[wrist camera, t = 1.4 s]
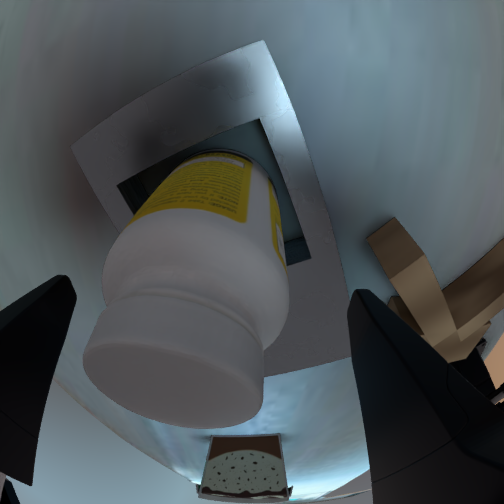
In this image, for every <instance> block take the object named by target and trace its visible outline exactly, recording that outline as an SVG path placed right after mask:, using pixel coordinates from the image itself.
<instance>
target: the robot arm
mask: <svg viewBox="0 0 504 504" xmlns="http://www.w3.org/2000/svg"><path fill="white" fill-rule="evenodd" d="M76 301H77V295H76V292H75V290H74V288H73V285H72V283H71V281H70V279H69V277H68V276H66V275H56V276H55V277H53V278H51V279H50V280H48V281H46V282H45V283H43V284H41V285H40V286H38V287H37V288H35V289H33V290H32V291H30V292H29V293H27V294H26V295H24V296H22V297H21V298H19V299H18V300H16V301H15V302H13V303H12V304H10V305H9V306H7V307H6V308H4V309H3V310H1V311H0V504H20V502H19V500H18V497H17V495H16V493H15V490H14V488H13V485H12V483H11V482H10V481H9V480H8V479H7V478H6V475H8V476H10V477H11V478H13V479H16V480H18V481H20V482H22V483H24V484H27V485H29V486H32V483H33V473H34V464H35V457H36V449H37V444H38V437H39V432H40V427H41V422H42V417H43V413H44V408H45V404H46V400H47V396H48V393H49V389H50V385H51V382H52V378H53V375H54V372H55V369H56V365H57V362H58V359H59V356H60V353H61V350H62V347H63V345H64V342H65V339H66V335H67V332H68V328H69V324H70V321H71V317H72V314H73V311H74V307H75V304H76ZM347 321H348V329H349V338H350V348H351V357H352V364H353V369H354V374H355V379H356V384H357V389H358V395H359V400H360V405H361V411H362V417H363V423H364V429H365V436H366V442H367V449H368V457H369V465H370V472H371V482H372V494H373V504H504V401H503V402H502V403H500V402H498V401H499V400H501V399H502V398H504V383H503V384H502V385H500V387H499V388H498V389H495V386H494V384H493V382H492V380H491V377H490V374H489V372H488V370H487V368H486V366H485V364H484V361H483V359H482V357H481V354H482V352H483V350H484V348H485V346H486V343H487V342H486V340H485V339H483V340H481V341H479V342H478V343H477V345H476V346H475V347H474V349H473V350H472V351H471V353H470V354H469V355H468V356H467V358H466V359H462V360H458V361H454V362H450V363H448V362H447V361H446V360H445V359H444V358H443V357H442V356H441V355H440V354H439V353H438V352H437V351H436V350H435V349H434V348H433V347H432V346H431V345H430V344H429V343H428V342H427V341H425V340H424V339H423V338H422V337H421V336H420V335H419V334H418V333H417V332H416V331H415V330H414V329H412V328H411V327H410V326H409V325H408V324H407V323H406V322H405V321H404V320H403V319H402V318H400V317H399V316H398V315H397V314H396V313H395V312H394V311H393V310H391V309H390V308H389V307H388V306H387V305H386V304H385V303H384V302H382V301H381V300H380V299H379V298H378V297H377V296H376V295H374V294H373V293H372V292H371V291H370V290H368V289H356V290H354V292H353V294H352V297H351V301H350V304H349V307H348V310H347ZM497 402H498V403H497ZM496 403H497V404H496ZM495 404H496V405H495Z"/></svg>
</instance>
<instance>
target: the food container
mask: <svg viewBox="0 0 504 504" xmlns="http://www.w3.org/2000/svg"><path fill="white" fill-rule="evenodd" d="M292 489H293V486H292V487H290V488H288V486H287V479H286V472H285V465H284V458H283V452H282V445H281V438H280V433H276V434H260V435H212V436H211V441H210V445H209V450H208V454H207V459H206V463H205V468H204V472H203V477H202V481H201V485H198V484H196V490H197V493H198V494H199V496H198V497H199V498H202V499H207V500H214V501H222V502H235V503H275V502H285V501H289V497H290V496H291V494H292Z"/></svg>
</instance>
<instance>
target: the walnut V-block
mask: <svg viewBox="0 0 504 504" xmlns="http://www.w3.org/2000/svg"><path fill="white" fill-rule="evenodd" d="M366 239H367V241H368V243H369V245H370V246H371V248H372V250H373V251H374V253H375V255H376V257H377V258H378V260H379V262H380V264H381V266H382V267H383V269H384V271H385V273H386V275H387V277H388V279H389V280H390V282H391V283H392V285H393V286H394V288H395V289H396V291H397V292H398V293H399V295H400V296H399V297H391V299H390V301H389V303H388V307H389V308H390V309H391V310H393V311H394V312H395V313H396V314H397V315H398V316H399V317H400V318H402V319H403V320H404V321H405V322H406V323H407V324H408V325H409V326H410V327H411V328H412V329H414V330H415V331H416V332H417V333H418V334H419V335H420V336H421V337H422V338H423V339H424V340H425V341H427V342H428V343H429V344H430V345H431V346H432V347H433V348H434V349H435V350H436V351H437V352H438V353H439V354H440V355H441V356H442V357H443V358H444V359H445V360H446V361H447V362H448V363H450V362H454V361H458V360H462V359H466V358H467V356H468V355H469V354H470V353H471V351H472V350H473V349H474V347H475V346H476V345H477V343H478V342H479V341H480V339H481V338H482V337H483V335H484V334H485V332H486V331H487V329H488V328H489V327H490V325H491V322H490V321H489V320H490V319H491V318H492V317H494V316H495V315H496V314H497V313H498V312H500V311H501V310H502V309H503V308H504V238H503V239H502V240H501V241H500V242H499V243H498V244H497V245H496V246H495V247H494V248H493V249H492V250H491V251H490V252H488V253H487V254H486V255H485V256H484V257H483V258H482V259H481V260H479V261H478V262H477V263H476V264H475V265H474V266H472V267H471V268H470V269H469V270H468V271H466V272H465V273H464V274H463V275H461V276H460V277H459V278H458V279H456V280H455V281H454V282H453V283H451V284H450V285H449V286H447V287H446V288H445V289H443V290H442V291H441V288H440V286H439V284H438V281H437V279H436V277H435V275H434V272H433V270H432V268H431V266H430V264H429V262H428V260H427V258H426V256H425V254H424V252H423V251H422V250H421V249H420V247H419V246H418V245H417V243H416V242H415V241H414V240H413V238H412V237H411V236H410V235H409V233H408V232H407V231H406V230H405V229H404V227H403V226H402V225H401V224H400V223H399V221H398V220H397V219H396V218H395V217H394V218H393V219H392V220H390V221H389V222H388V223H386V224H385V225H384V226H383V227H381V228H380V229H379V230H377V231H376V232H375V233H373V234H372V235H371V236H369V237H368V238H366Z"/></svg>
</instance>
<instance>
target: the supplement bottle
mask: <svg viewBox="0 0 504 504" xmlns="http://www.w3.org/2000/svg"><path fill="white" fill-rule="evenodd" d="M102 291H103V296H104V300H105V303H106V306H107V308H106V309H105V310H104V311H103V312H102V313H101V315H100V316H99V318H98V321H97V323H96V326H95V328H94V330H93V332H92V335H91V337H90V339H89V341H88V344H87V346H86V348H85V351H84V354H83V366H84V370H85V372H86V374H87V376H88V377H89V379H90V380H91V381H92V383H93V384H94V385H95V386H96V387H97V388H98V389H99V390H100V391H101V392H103V393H104V394H105V395H106V396H107V397H109V398H110V399H111V400H113V401H114V402H116V403H117V404H119V405H121V406H123V407H124V408H126V409H128V410H130V411H132V412H134V413H136V414H139V415H141V416H144V417H146V418H149V419H152V420H155V421H158V422H162V423H166V424H170V425H174V426H179V427H186V428H196V429H214V428H225V427H231V426H235V425H238V424H241V423H244V422H246V421H248V420H249V419H251V418H253V417H254V416H255V415H256V414H257V413H258V412H259V410H260V409H261V406H262V403H263V384H264V359H263V357H264V350H265V349H266V348H267V347H269V346H270V345H271V344H272V343H273V342H274V341H275V339H276V338H277V337H278V335H279V334H280V332H281V331H282V329H283V327H284V324H285V322H286V319H287V316H288V311H289V282H288V275H287V267H286V258H285V250H284V242H283V233H282V226H281V218H280V210H279V203H278V198H277V193H276V189H275V186H274V184H273V182H272V179H271V178H270V176H269V175H268V173H267V172H266V170H265V169H264V168H263V167H262V166H261V165H260V164H259V163H258V162H256V161H255V160H254V159H252V158H250V157H249V156H247V155H245V154H243V153H240V152H237V151H233V150H228V149H210V150H205V151H202V152H199V153H196V154H194V155H192V156H190V157H188V158H187V159H186V160H184V161H183V162H182V163H180V164H179V165H178V166H177V167H176V168H175V169H174V170H173V171H172V172H171V174H170V175H169V176H168V177H167V178H166V179H165V180H164V181H163V182H162V183H161V184H160V185H159V187H158V188H157V189H156V190H155V191H154V192H153V194H152V195H151V196H150V197H149V198H148V200H147V201H146V202H145V203H144V204H143V205H142V207H141V208H140V209H139V210H138V212H137V213H136V214H135V215H134V217H133V218H132V219H131V220H130V222H129V223H128V224H127V226H126V227H125V228H124V230H123V231H122V232H121V234H120V235H119V236H118V238H117V239H116V241H115V242H114V244H113V246H112V247H111V249H110V251H109V253H108V255H107V258H106V260H105V263H104V266H103V271H102Z"/></svg>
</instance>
